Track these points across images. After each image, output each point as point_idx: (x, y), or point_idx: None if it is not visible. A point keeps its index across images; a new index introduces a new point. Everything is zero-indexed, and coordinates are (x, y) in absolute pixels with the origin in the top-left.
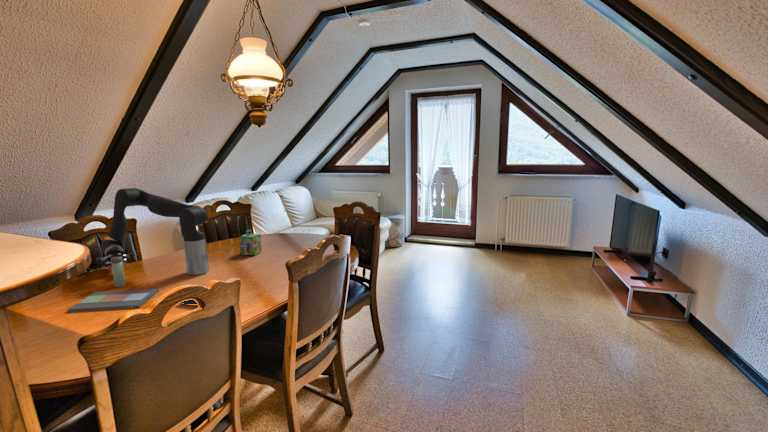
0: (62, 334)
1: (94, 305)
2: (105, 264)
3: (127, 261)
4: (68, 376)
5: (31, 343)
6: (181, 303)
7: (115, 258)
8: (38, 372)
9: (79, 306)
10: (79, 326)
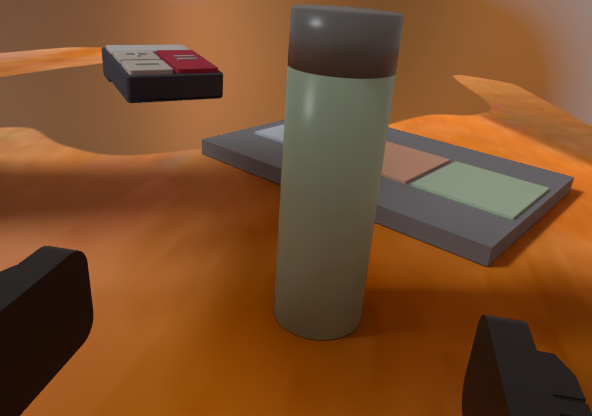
0: (524, 126)
1: (466, 155)
2: (471, 365)
3: (79, 300)
4: (469, 76)
5: (588, 130)
6: (222, 89)
7: (360, 9)
8: (519, 89)
9: (528, 172)
10: (490, 130)
